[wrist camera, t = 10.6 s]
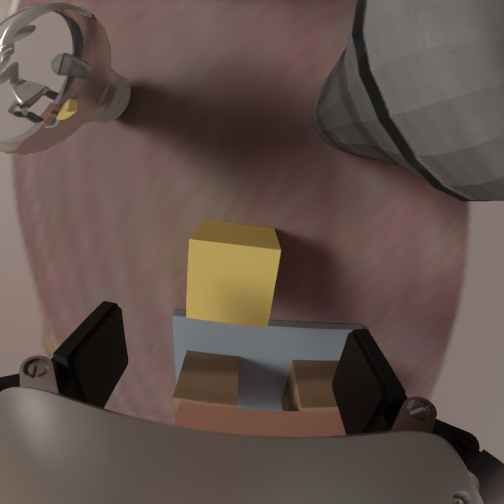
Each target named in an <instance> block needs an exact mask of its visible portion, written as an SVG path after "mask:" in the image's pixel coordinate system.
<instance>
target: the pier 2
mask: <svg viewBox="0 0 504 504" xmlns="http://www.w3.org/2000/svg"><path fill="white" fill-rule="evenodd" d="M338 363H339V360H292V363H291V367H290V371H289V374H288V378H287V382H286V386H285V390H284V393H283V397H282V401H281V404H282V411H339V409H338V406H337V403H336V399H335V396H334V393H333V390H332V380H333V377H334V375H335V372H336V369H337V366H338Z"/></svg>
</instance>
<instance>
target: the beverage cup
mask: <svg viewBox="0 0 504 504" xmlns="http://www.w3.org/2000/svg"><path fill="white" fill-rule="evenodd" d="M312 117H313V123H314V126H315V128H316V130H317V133H318V134H319V135H320V136H321V138H322V139H323V140H324V141H325V142H326V143H328V144H329V145H331V146H332V147H333V148H336V149H339V150H342V151H345V152H348V153H351V154H354V155H359V156H363V157H367V158H371V159H375V160H379V161H382V162H386V163H390V164H393V165H397V166H400V167H404V168H405V169H407V170H409V171H410V172H412V173H414V174H416V175H417V176H419V177H421V178H423V179H425V180H427V181H428V182H429V183H430V184H431V185H432V186H433V187H434V188H436V189H438V190H440V191H443V192H445V193H447V194H449V195H451V196H453V197H455V198H457V199H459V200H461V201H494V200H496V201H504V0H358V2H357V4H356V10H355V17H354V21H353V24H352V28H351V31H350V34H349V39H348V44H347V47H346V48H345V50H344V52H343V53H342V55H341V56H340V58H339V60H338V61H337V63H336V64H335V66H334V68H333V69H332V71H331V73H330V74H329V76H328V78H327V79H326V81H325V82H324V84H323V86H322V87H321V89H320V91H319V92H318V94H317V97H316V100H315V101H314V105H313V109H312Z"/></svg>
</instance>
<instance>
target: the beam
mask: <svg viewBox="0 0 504 504" xmlns="http://www.w3.org/2000/svg"><path fill="white" fill-rule="evenodd" d="M174 426H180V427H185V428H192V429H198V430H205V431H213V432H221V433H231V434H242V435H256V436H280V437H311V436H335V435H346V433H345V429H344V426H343V423H342V419H341V416H340V413H339V411H267V410H251V409H239V408H229V407H220V406H212V405H204V404H197V403H191V402H185V401H180V404H179V408H178V412H177V416H176V420H175V424H174Z"/></svg>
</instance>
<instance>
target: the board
mask: <svg viewBox="0 0 504 504" xmlns="http://www.w3.org/2000/svg"><path fill="white" fill-rule="evenodd" d="M353 329H362V327H361V325H360V324H331V323H310V322H293V321H278V320H269V322H268V327H259V326H249V325H240V324H231V323H222V322H215V321H207V320H200V319H192V318H186V311H181V310H175V311H174V314H173V336H174V355H175V370H176V383H177V381H178V378H179V375H180V371H181V368H182V365H183V361H184V358H185V355H186V351H187V350H190V351H197V352H205V353H213V354H222V355H232V356H240V360H239V379H238V398H237V408H239V409H251V410H267V411H282V404H281V401H282V397H283V393H284V390H285V386H286V382H287V378H288V374H289V371H290V367H291V363H292V360H340V357H341V354H342V351H343V348H344V345H345V342H346V339H347V335H348V333H349V332H352V331H353Z"/></svg>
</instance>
